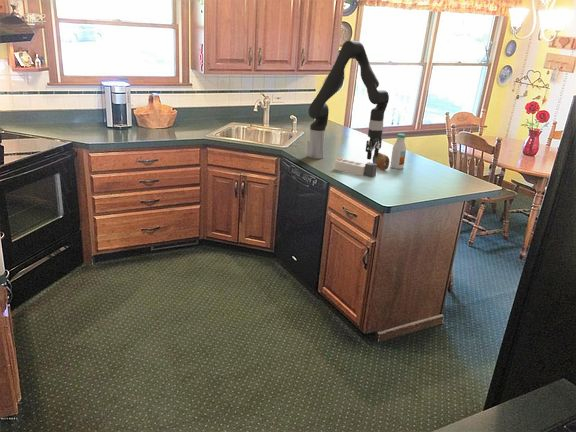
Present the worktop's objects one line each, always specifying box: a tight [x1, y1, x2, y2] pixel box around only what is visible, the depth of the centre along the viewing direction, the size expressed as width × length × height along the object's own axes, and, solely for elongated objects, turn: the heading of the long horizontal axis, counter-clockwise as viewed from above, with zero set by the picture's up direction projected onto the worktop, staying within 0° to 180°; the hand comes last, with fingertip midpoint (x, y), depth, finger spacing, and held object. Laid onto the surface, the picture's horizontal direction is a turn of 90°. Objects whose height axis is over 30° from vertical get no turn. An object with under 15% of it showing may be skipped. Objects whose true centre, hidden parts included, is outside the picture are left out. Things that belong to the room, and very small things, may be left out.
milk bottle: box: [389, 133, 407, 170], centre depth 292 cm, size 8×8×20 cm
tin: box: [372, 152, 390, 171], centre depth 291 cm, size 15×3×8 cm, turn 21°
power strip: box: [334, 157, 366, 177], centre depth 282 cm, size 18×7×6 cm, turn 55°
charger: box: [363, 162, 378, 178], centre depth 276 cm, size 8×4×6 cm, turn 55°
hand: (372, 157), depth 273 cm, fingers open, 8 cm apart
